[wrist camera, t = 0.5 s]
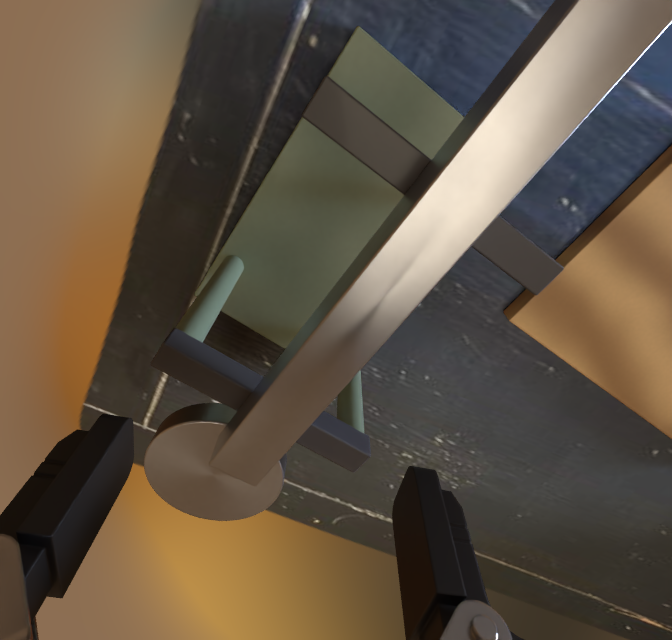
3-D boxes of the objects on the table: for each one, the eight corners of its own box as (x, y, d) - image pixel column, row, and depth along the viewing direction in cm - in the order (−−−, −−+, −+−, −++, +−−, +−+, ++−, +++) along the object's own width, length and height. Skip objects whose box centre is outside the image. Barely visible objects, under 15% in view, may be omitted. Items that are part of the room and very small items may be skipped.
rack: (357, 28, 20) (370, -33, 10) (511, 161, 22) (638, 214, 13) (199, 287, 26) (113, 402, 16) (334, 367, 29) (328, 509, 19)
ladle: (503, -84, 11) (557, -143, 8) (652, 76, 12) (740, 71, 10) (133, 464, 20) (99, 524, 17) (245, 516, 22) (231, 578, 19)
